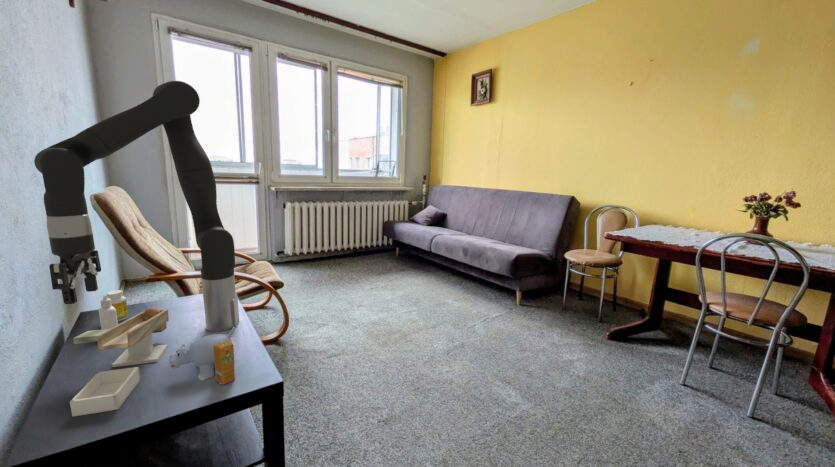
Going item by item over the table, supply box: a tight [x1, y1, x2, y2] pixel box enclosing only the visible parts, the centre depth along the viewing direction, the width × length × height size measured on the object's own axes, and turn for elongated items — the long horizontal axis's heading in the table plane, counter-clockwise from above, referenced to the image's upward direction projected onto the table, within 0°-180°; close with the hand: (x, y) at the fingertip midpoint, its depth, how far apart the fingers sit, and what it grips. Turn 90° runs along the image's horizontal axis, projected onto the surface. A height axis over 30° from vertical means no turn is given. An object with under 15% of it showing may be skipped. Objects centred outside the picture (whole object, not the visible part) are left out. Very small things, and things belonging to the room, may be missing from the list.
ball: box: [143, 307, 161, 320], centre depth 103 cm, size 4×4×4 cm
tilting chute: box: [73, 309, 169, 351], centre depth 93 cm, size 13×24×6 cm, turn 18°
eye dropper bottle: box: [98, 294, 119, 330], centre depth 107 cm, size 4×6×12 cm
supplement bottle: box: [106, 289, 129, 322], centre depth 116 cm, size 5×5×10 cm
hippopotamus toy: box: [168, 327, 236, 381], centre depth 90 cm, size 11×15×10 cm
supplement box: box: [214, 340, 236, 386], centre depth 85 cm, size 3×3×10 cm
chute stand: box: [111, 333, 169, 368], centre depth 95 cm, size 10×8×6 cm
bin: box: [69, 366, 141, 418], centre depth 79 cm, size 8×11×4 cm
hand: (82, 296), depth 86 cm, fingers open, 8 cm apart
